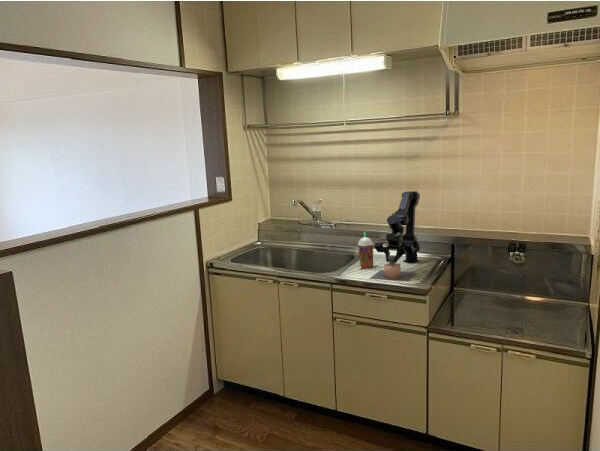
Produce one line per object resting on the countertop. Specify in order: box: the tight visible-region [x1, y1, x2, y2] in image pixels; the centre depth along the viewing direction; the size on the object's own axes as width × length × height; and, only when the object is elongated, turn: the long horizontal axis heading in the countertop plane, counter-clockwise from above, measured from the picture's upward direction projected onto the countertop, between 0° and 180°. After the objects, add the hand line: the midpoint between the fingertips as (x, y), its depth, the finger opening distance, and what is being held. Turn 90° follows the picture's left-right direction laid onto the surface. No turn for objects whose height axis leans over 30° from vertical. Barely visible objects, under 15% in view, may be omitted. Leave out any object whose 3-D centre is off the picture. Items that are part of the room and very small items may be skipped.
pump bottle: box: [383, 262, 402, 279], centre depth 222 cm, size 8×8×7 cm
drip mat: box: [368, 269, 419, 282], centre depth 225 cm, size 20×16×1 cm
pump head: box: [388, 255, 396, 263], centre depth 220 cm, size 6×4×4 cm, turn 151°
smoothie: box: [357, 231, 374, 270], centre depth 244 cm, size 8×8×20 cm
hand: (391, 262), depth 220 cm, fingers closed on pump head, 4 cm apart
